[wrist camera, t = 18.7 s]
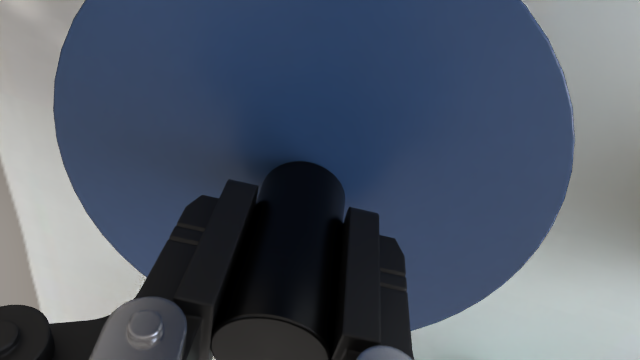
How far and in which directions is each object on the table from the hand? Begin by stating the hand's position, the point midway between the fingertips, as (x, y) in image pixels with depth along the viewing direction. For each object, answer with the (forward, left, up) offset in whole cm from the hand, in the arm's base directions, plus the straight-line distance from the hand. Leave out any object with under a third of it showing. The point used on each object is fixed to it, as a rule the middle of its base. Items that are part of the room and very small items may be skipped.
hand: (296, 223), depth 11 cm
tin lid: (0, 0, -2) cm, 2 cm away
